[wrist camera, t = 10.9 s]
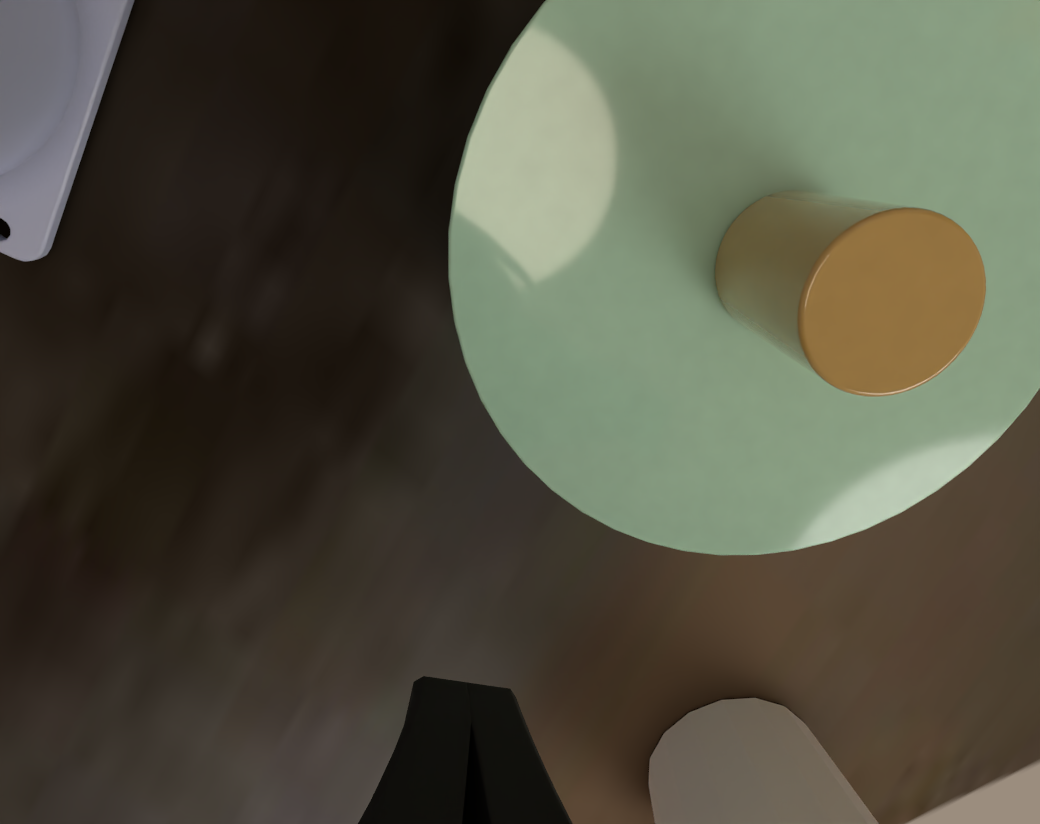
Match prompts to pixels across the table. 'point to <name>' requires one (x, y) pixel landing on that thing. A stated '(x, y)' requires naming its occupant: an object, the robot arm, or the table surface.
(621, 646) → the table surface
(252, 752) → the table surface
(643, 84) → the lid
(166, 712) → the table surface
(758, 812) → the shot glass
